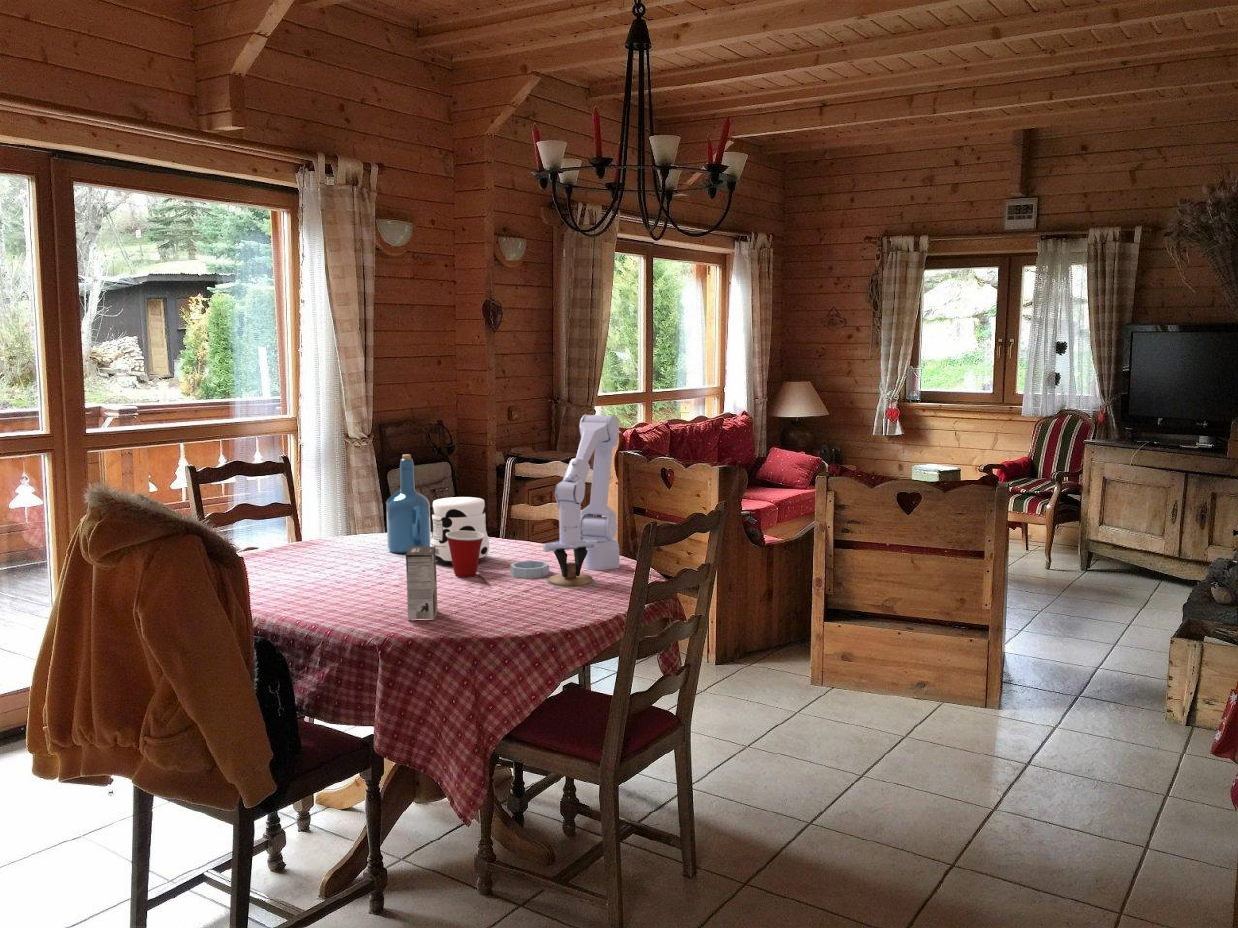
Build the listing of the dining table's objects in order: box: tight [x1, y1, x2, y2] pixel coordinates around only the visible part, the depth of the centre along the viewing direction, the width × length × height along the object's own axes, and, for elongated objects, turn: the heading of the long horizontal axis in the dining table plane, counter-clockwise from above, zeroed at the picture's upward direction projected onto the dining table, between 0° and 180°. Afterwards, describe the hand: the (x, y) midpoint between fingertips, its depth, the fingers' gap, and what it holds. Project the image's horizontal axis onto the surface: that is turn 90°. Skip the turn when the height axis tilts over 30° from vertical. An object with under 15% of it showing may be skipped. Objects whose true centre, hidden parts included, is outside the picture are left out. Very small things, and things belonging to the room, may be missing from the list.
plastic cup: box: [446, 530, 485, 578], centre depth 284 cm, size 11×11×12 cm
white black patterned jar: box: [430, 496, 490, 565], centre depth 302 cm, size 17×17×18 cm
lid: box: [548, 561, 594, 588], centre depth 273 cm, size 12×12×5 cm
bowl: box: [509, 559, 550, 579], centre depth 282 cm, size 10×10×4 cm
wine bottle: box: [385, 453, 432, 555], centre depth 317 cm, size 14×13×30 cm
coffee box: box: [405, 546, 439, 620], centre depth 244 cm, size 9×6×16 cm
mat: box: [542, 577, 600, 589], centre depth 274 cm, size 12×12×1 cm
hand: (570, 576), depth 273 cm, fingers closed on lid, 3 cm apart
